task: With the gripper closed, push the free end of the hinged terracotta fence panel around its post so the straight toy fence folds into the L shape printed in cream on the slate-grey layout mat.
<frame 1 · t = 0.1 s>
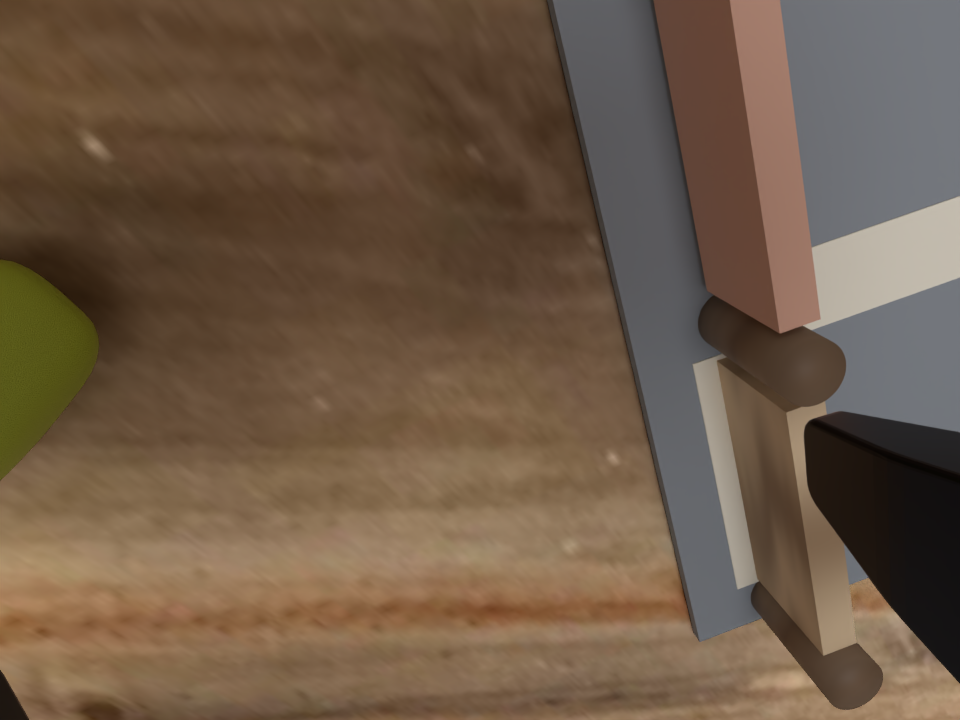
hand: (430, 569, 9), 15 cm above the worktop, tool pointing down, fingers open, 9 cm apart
terracotta panel: (733, 120, 20), point 3 cm above the worktop, hinge at 0.0°
oak fence: (726, 318, 25), resting on layout mat
layout mat: (844, 269, 25), on the worktop
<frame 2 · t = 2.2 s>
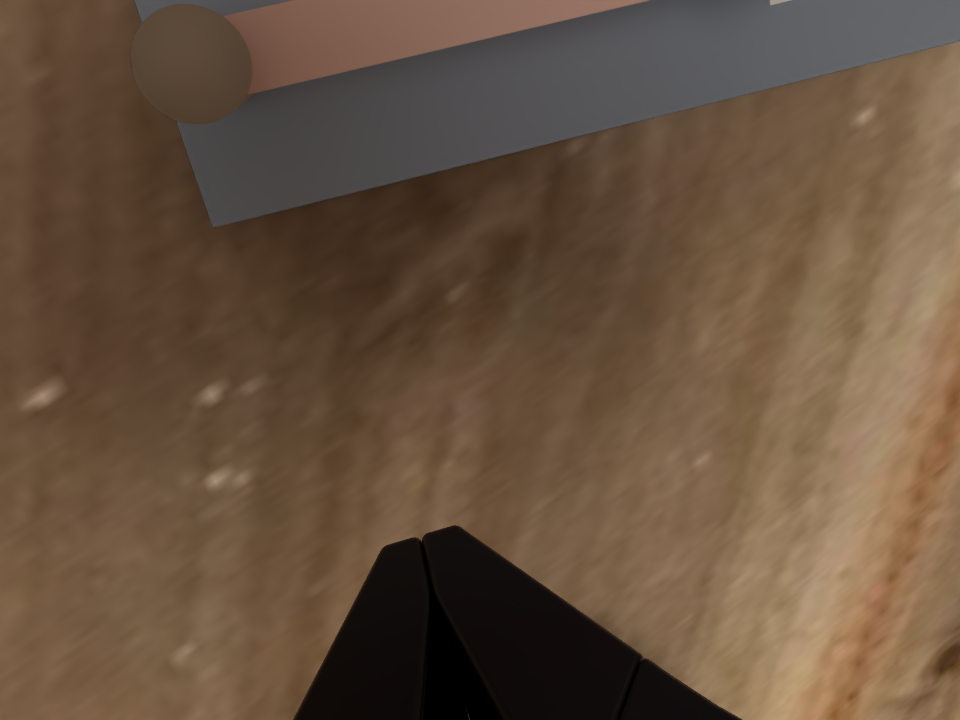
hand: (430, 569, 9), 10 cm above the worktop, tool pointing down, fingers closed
terracotta panel: (450, 8, 14), point 3 cm above the worktop, hinge at 0.0°
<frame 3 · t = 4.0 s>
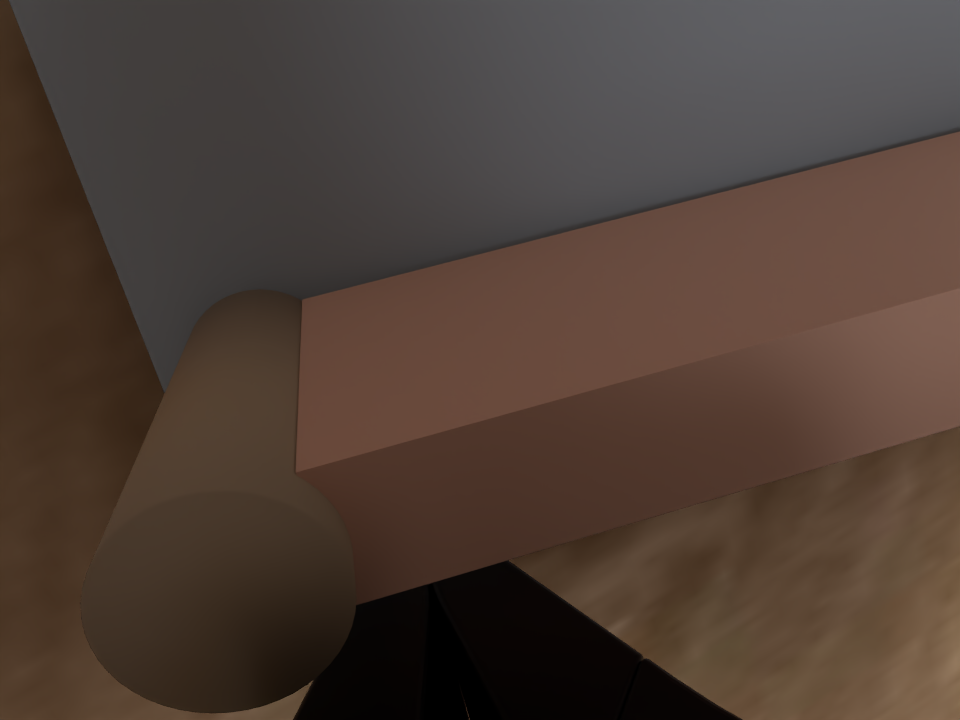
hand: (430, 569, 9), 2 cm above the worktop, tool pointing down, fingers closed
terracotta panel: (702, 324, 7), point 3 cm above the worktop, hinge at -0.2°, touching gripper
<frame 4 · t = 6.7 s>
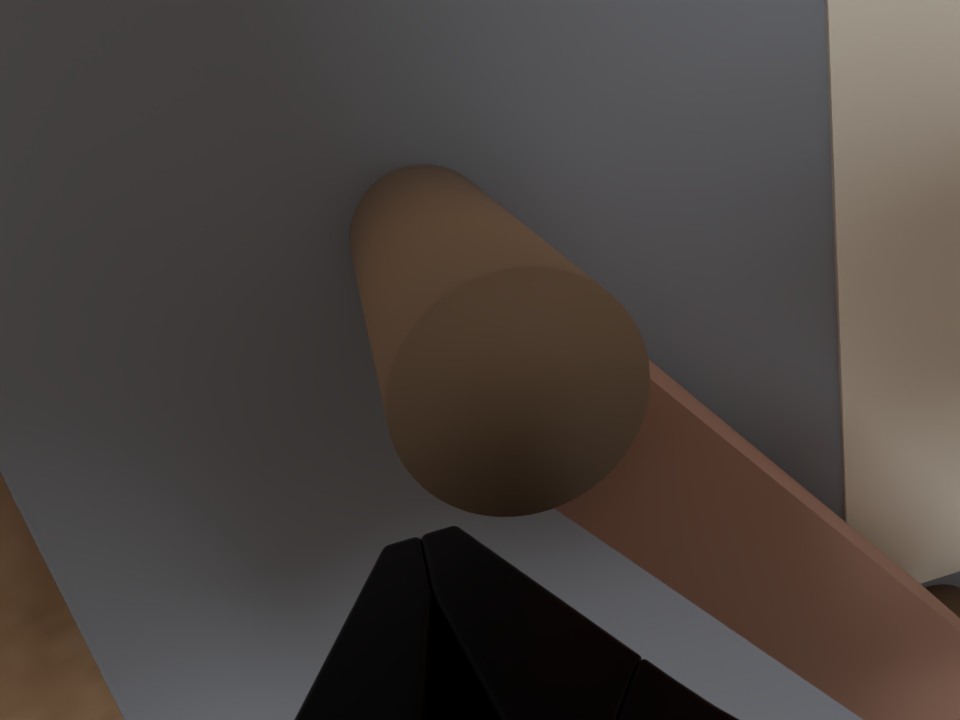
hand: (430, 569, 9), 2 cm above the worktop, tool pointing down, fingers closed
terracotta panel: (765, 532, 8), point 3 cm above the worktop, hinge at -52.4°, touching gripper
oak fence: (924, 632, 13), resting on layout mat
layout mat: (902, 381, 12), on the worktop
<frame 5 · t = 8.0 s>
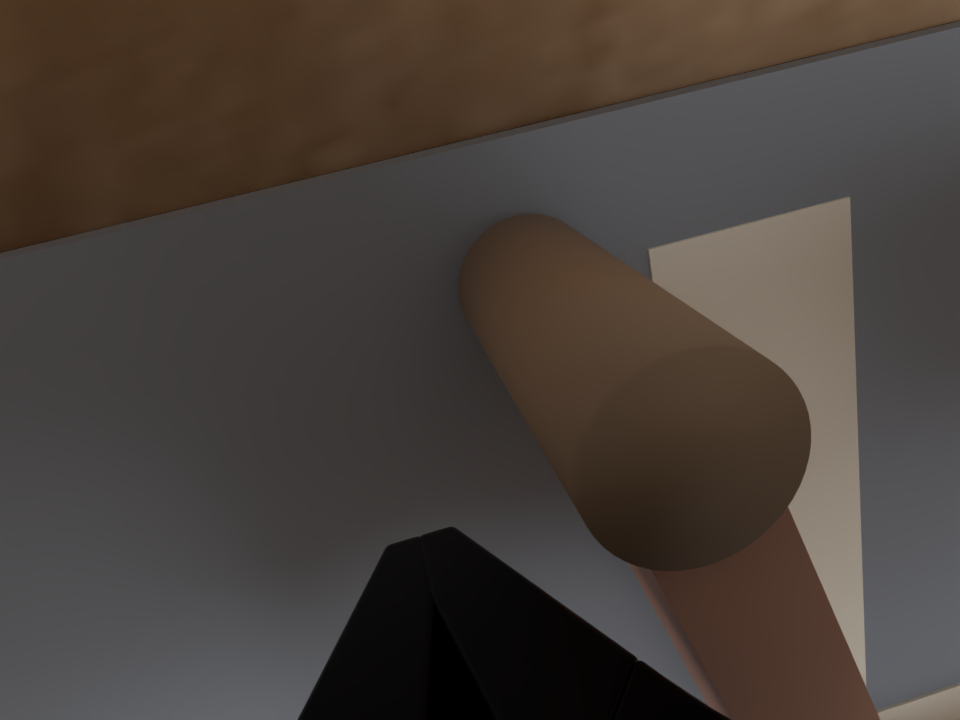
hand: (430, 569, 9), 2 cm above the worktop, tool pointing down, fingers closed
terracotta panel: (745, 655, 9), point 3 cm above the worktop, hinge at -74.0°, touching gripper
layout mat: (761, 572, 12), on the worktop
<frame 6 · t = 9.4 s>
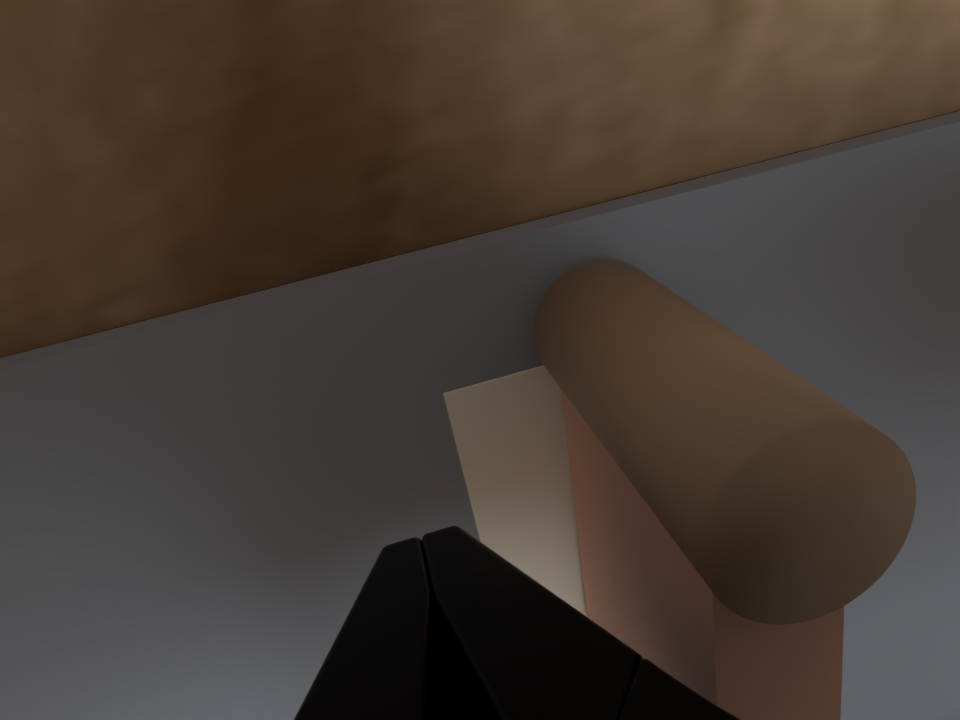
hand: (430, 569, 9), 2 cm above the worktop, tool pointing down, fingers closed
layout mat: (599, 678, 13), on the worktop
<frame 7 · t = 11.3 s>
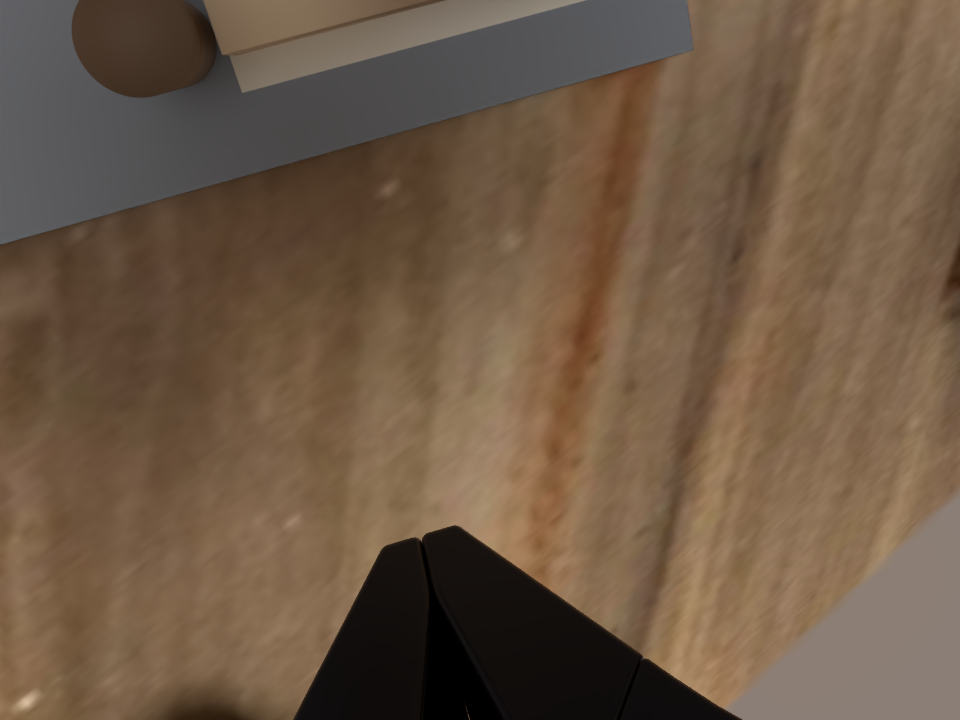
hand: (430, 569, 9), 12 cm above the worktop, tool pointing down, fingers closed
oak fence: (171, 43, 17), resting on layout mat
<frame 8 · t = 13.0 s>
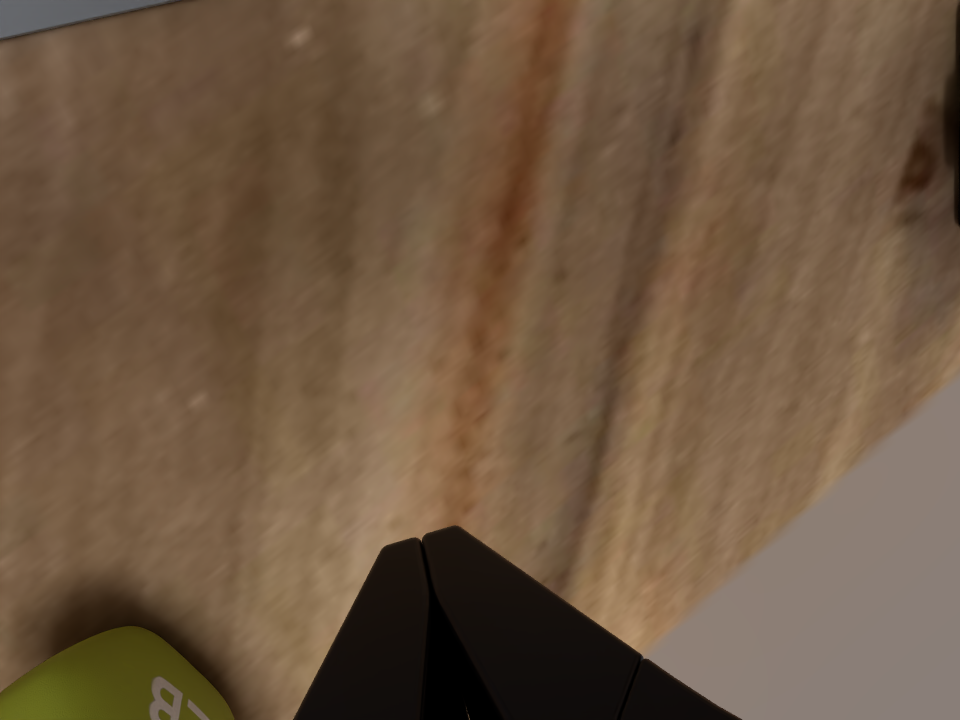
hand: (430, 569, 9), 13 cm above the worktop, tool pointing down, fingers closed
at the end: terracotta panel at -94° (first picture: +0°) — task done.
